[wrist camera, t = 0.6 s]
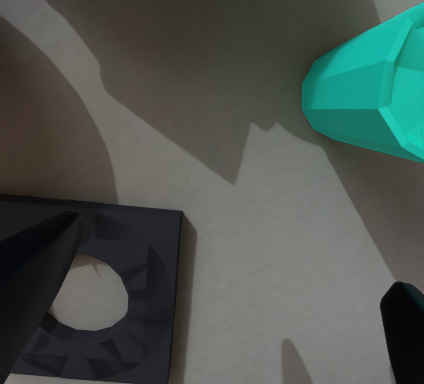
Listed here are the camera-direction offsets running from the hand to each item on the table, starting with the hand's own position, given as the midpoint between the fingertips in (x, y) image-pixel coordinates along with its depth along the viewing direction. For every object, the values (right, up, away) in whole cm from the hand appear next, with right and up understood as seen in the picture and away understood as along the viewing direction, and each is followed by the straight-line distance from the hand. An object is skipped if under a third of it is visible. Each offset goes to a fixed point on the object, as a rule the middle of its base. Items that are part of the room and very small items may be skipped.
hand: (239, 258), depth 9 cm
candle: (+8, +8, +12) cm, 17 cm away
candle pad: (-11, -6, +16) cm, 19 cm away
